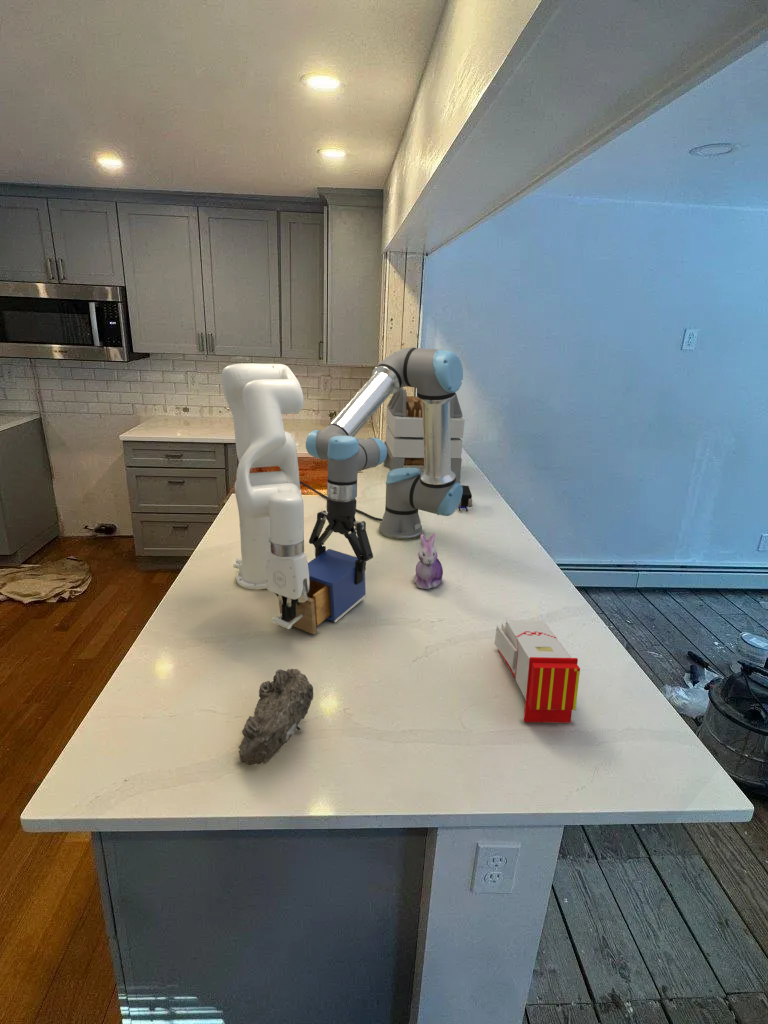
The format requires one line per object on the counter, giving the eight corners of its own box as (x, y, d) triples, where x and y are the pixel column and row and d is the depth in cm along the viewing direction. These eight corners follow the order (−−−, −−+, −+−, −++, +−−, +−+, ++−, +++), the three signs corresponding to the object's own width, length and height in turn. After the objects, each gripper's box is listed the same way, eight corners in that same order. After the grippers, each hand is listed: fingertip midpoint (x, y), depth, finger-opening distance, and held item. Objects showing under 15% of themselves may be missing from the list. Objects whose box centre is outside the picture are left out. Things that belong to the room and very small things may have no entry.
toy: (541, 605, 135) (589, 664, 106) (536, 657, 138) (581, 729, 108) (490, 604, 135) (524, 663, 105) (486, 656, 137) (518, 728, 108)
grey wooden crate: (382, 463, 289) (386, 382, 275) (445, 464, 293) (451, 384, 279) (390, 482, 257) (394, 392, 243) (460, 483, 261) (468, 394, 247)
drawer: (298, 647, 132) (295, 613, 128) (265, 632, 137) (261, 600, 133) (343, 609, 146) (342, 578, 142) (312, 597, 151) (309, 567, 147)
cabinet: (334, 622, 142) (332, 583, 137) (299, 608, 148) (295, 570, 143) (365, 596, 153) (364, 559, 148) (331, 584, 158) (329, 548, 154)
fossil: (254, 669, 115) (309, 637, 110) (285, 700, 118) (340, 670, 113) (215, 759, 96) (280, 724, 91) (253, 792, 99) (319, 761, 94)
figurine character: (472, 516, 224) (466, 500, 237) (474, 499, 220) (469, 483, 234) (455, 515, 224) (451, 499, 237) (457, 498, 220) (452, 483, 234)
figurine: (423, 593, 159) (426, 543, 153) (405, 577, 167) (408, 530, 162) (451, 587, 163) (455, 538, 158) (432, 572, 171) (436, 526, 166)
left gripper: (251, 544, 129) (254, 615, 135) (302, 560, 121) (303, 635, 127) (274, 534, 135) (276, 603, 141) (323, 549, 128) (323, 621, 133)
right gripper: (295, 491, 146) (295, 568, 153) (373, 511, 134) (368, 594, 141) (314, 485, 152) (313, 559, 159) (389, 504, 140) (385, 583, 147)
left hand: (288, 618), depth 134 cm, fingers closed
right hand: (339, 576), depth 150 cm, fingers closed on cabinet, 12 cm apart
